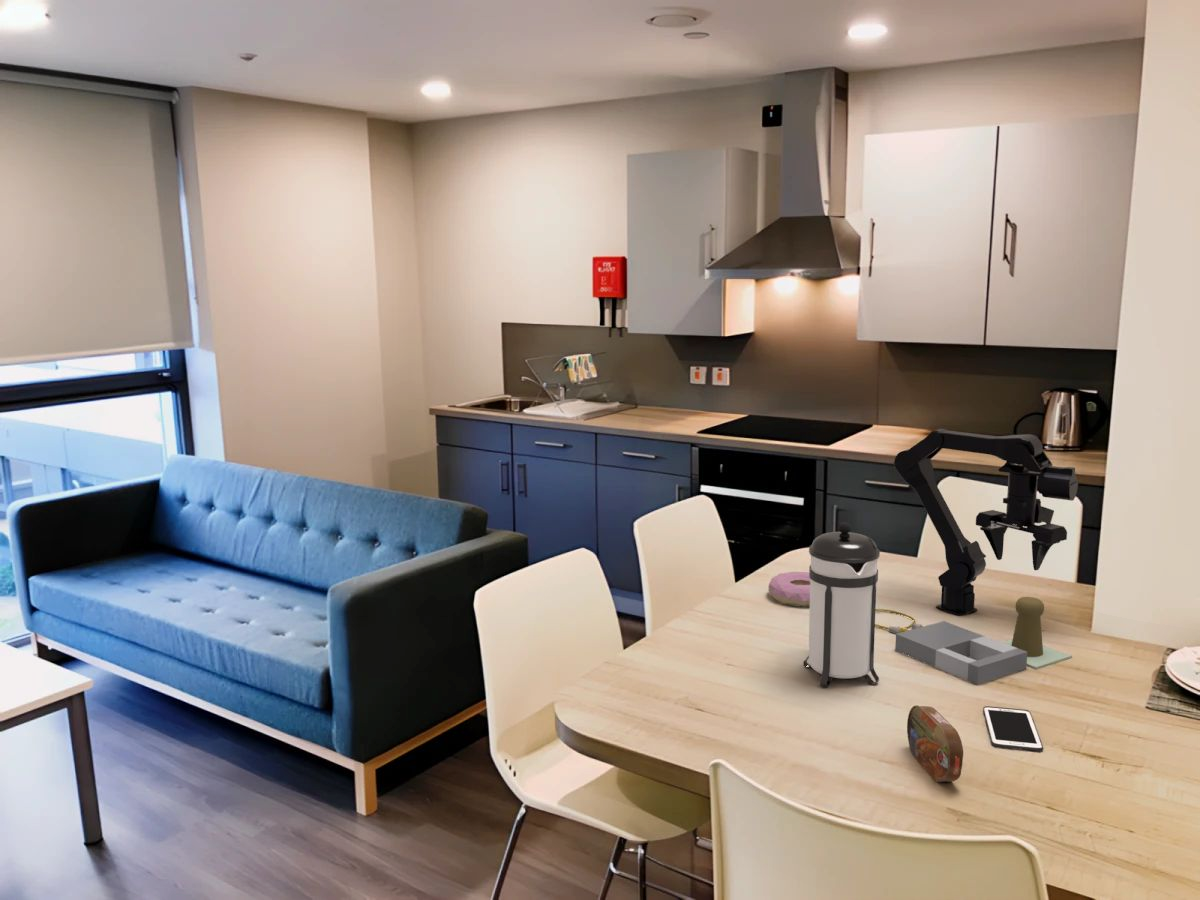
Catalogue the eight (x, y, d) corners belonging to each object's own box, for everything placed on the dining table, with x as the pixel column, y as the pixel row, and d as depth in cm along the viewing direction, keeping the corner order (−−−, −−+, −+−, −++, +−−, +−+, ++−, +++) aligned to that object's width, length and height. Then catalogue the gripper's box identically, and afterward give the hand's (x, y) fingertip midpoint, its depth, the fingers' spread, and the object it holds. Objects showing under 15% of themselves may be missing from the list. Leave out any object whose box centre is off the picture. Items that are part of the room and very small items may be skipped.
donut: (767, 587, 239) (767, 568, 238) (830, 589, 237) (831, 569, 236) (769, 609, 224) (769, 588, 223) (837, 611, 222) (838, 589, 221)
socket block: (895, 650, 197) (895, 633, 197) (943, 637, 204) (943, 621, 204) (977, 684, 180) (978, 667, 180) (1026, 669, 187) (1027, 651, 186)
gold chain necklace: (870, 639, 205) (871, 630, 205) (856, 613, 221) (856, 605, 220) (929, 639, 204) (930, 630, 204) (911, 614, 220) (911, 605, 219)
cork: (1026, 643, 199) (1030, 592, 197) (1050, 654, 193) (1054, 601, 191) (1003, 648, 196) (1007, 596, 195) (1026, 659, 191) (1030, 605, 189)
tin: (904, 745, 158) (906, 696, 156) (923, 744, 158) (925, 695, 157) (944, 793, 143) (947, 739, 142) (965, 792, 143) (968, 738, 142)
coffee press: (897, 671, 187) (903, 519, 181) (856, 698, 175) (862, 537, 170) (817, 649, 198) (821, 506, 193) (774, 673, 187) (777, 521, 182)
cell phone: (991, 749, 157) (992, 743, 156) (981, 710, 171) (982, 705, 170) (1043, 754, 155) (1044, 749, 154) (1029, 715, 169) (1029, 709, 168)
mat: (983, 649, 197) (983, 647, 197) (1019, 638, 203) (1019, 636, 203) (1035, 669, 187) (1036, 667, 187) (1071, 657, 192) (1072, 655, 192)
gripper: (1086, 497, 203) (1080, 569, 206) (1009, 482, 219) (1005, 549, 222) (1051, 504, 198) (1046, 578, 201) (975, 488, 214) (972, 556, 216)
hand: (1017, 564), depth 210 cm, fingers open, 9 cm apart
